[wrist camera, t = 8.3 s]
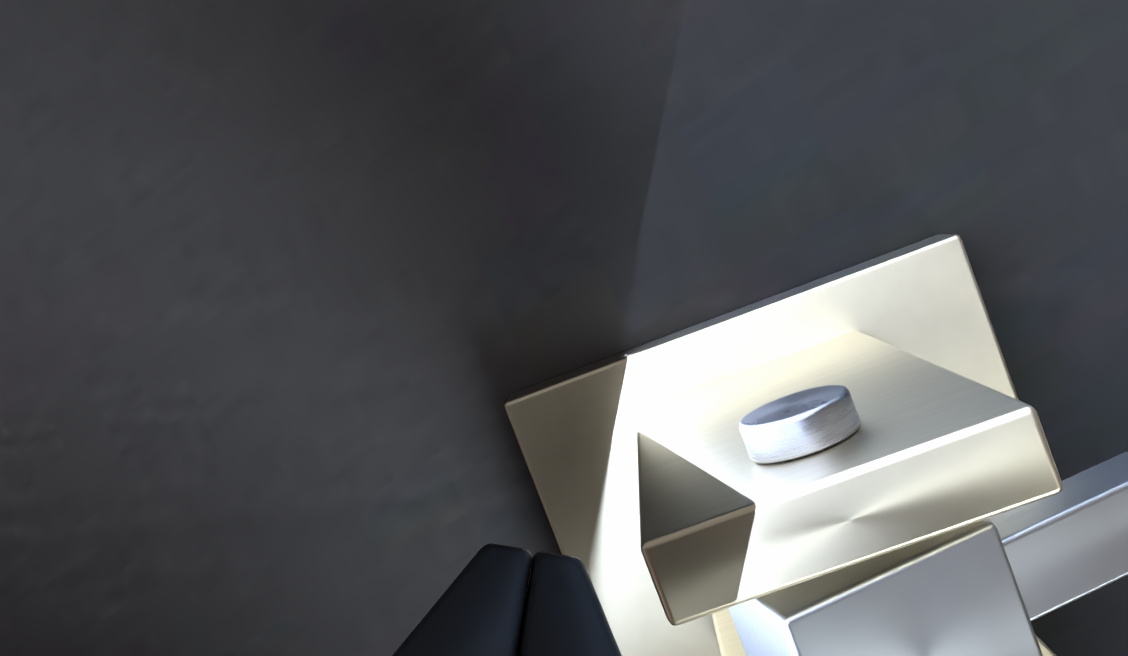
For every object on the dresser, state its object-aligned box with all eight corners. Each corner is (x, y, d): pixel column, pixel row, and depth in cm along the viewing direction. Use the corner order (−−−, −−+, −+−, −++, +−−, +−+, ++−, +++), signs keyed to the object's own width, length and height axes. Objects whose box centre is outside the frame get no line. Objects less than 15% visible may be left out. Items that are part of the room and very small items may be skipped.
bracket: (941, 232, 20) (1225, 234, 11) (1060, 565, 21) (1437, 858, 11) (509, 394, 21) (407, 531, 12) (632, 710, 22) (634, 1101, 12)
